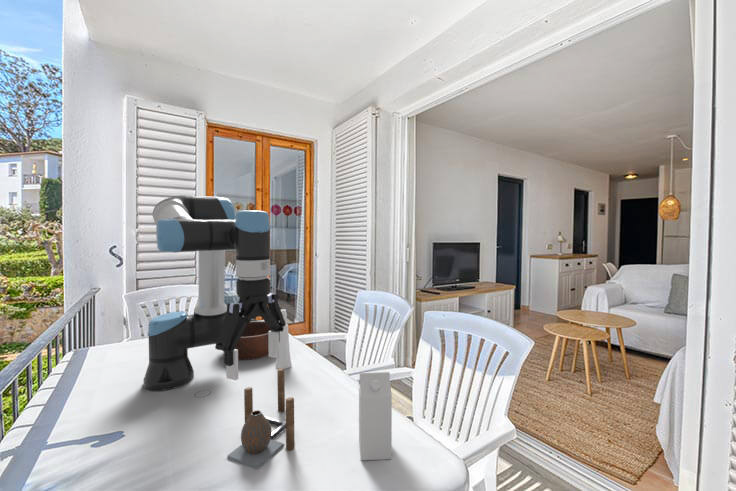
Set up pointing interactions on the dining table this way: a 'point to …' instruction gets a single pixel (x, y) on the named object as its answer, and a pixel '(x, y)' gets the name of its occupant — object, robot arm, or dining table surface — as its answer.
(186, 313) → the robot arm
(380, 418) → the milk carton
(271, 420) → the grey l-shaped bracket
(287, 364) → the cosmetic bottle
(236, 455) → the pad
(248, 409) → the posts
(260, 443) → the vase
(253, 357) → the wooden bowl
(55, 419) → the dining table surface
